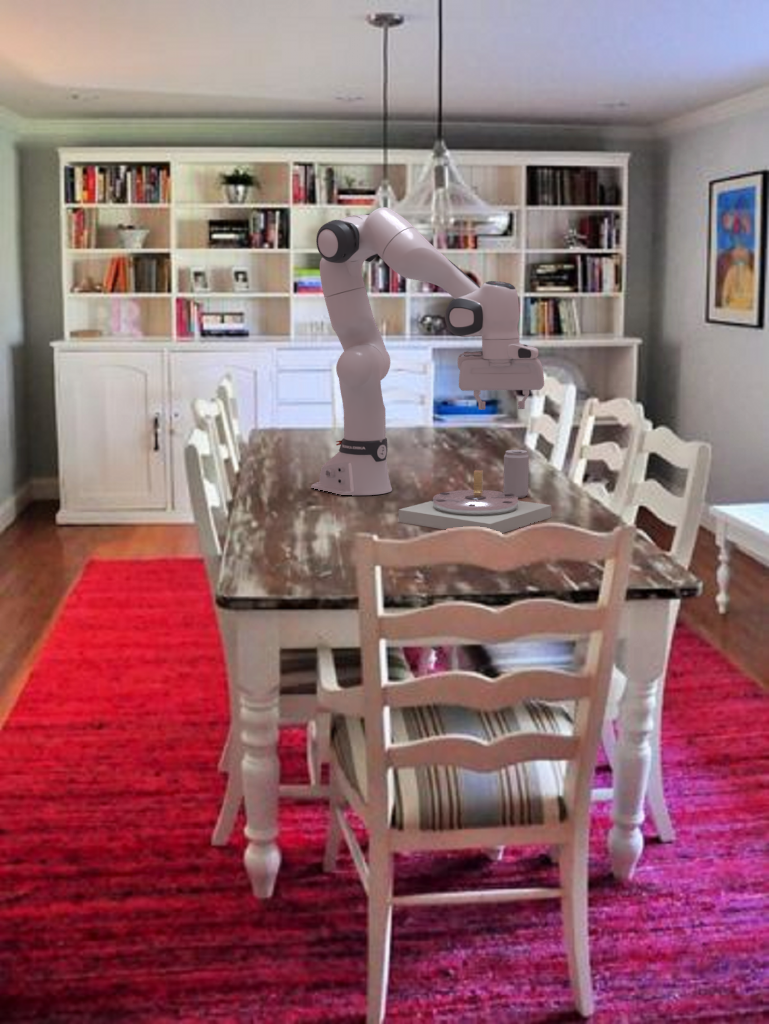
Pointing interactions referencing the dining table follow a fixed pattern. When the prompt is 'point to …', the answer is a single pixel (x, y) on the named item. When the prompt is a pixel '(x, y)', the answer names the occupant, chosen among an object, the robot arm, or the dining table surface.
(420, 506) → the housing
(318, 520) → the dining table surface
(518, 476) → the beverage can
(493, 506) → the turntable disc
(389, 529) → the dining table surface
